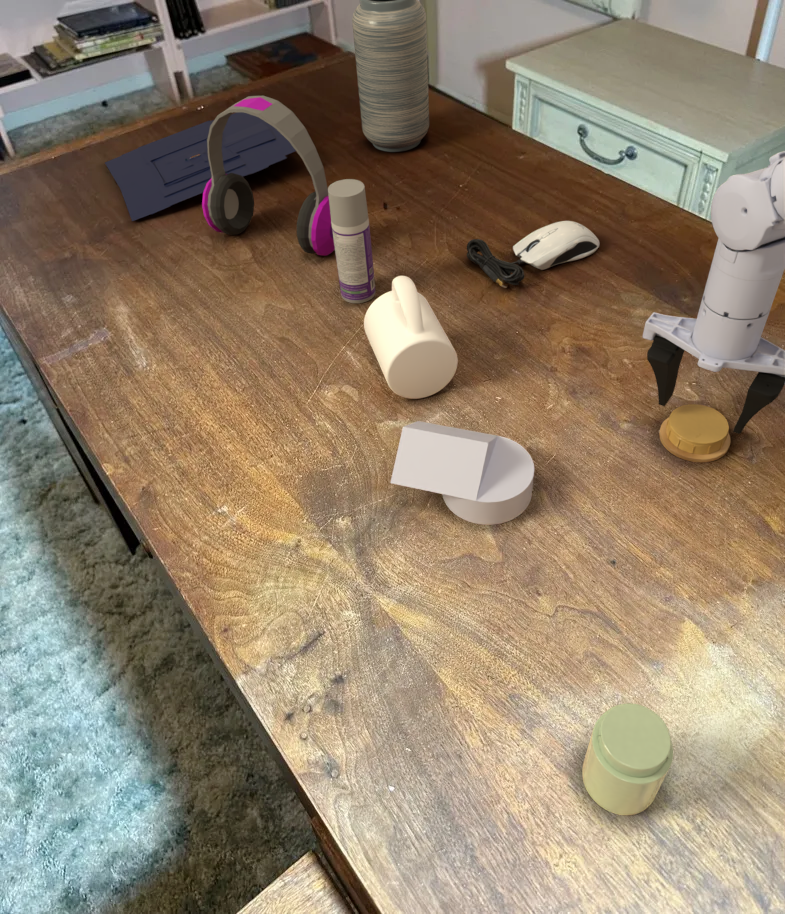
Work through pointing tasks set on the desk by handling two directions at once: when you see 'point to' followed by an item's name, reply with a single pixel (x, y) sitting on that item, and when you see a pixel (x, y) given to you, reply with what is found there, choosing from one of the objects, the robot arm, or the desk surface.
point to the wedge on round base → (466, 471)
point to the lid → (697, 429)
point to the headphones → (233, 197)
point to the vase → (392, 72)
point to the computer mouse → (536, 251)
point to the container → (352, 240)
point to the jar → (627, 759)
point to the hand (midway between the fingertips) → (701, 413)
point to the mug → (409, 342)
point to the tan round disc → (690, 456)
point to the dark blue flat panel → (193, 162)
